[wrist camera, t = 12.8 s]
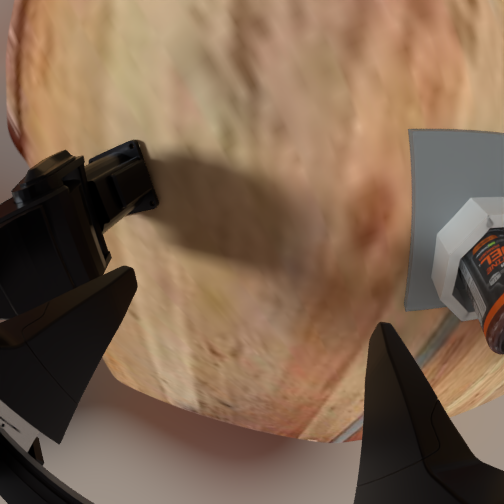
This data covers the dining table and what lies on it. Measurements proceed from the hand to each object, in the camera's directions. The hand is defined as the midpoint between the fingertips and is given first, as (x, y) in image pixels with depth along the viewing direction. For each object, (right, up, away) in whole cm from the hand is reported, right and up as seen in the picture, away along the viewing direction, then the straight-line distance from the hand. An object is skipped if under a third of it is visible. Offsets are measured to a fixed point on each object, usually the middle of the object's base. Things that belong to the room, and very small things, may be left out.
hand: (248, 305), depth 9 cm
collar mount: (+21, +4, +7) cm, 23 cm away
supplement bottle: (+19, +2, +8) cm, 21 cm away
